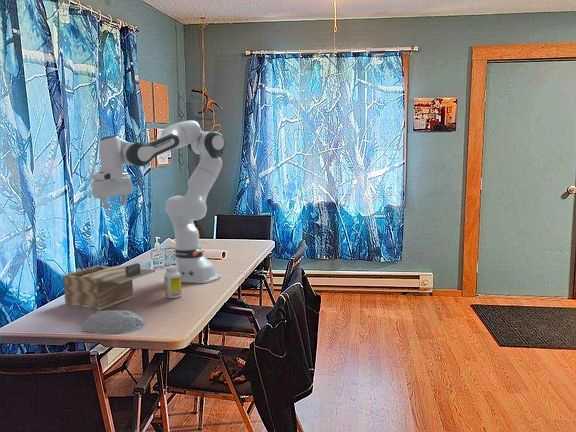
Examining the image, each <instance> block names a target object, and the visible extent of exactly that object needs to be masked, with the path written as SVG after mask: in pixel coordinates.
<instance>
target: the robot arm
mask: <svg viewBox="0 0 576 432" xmlns="http://www.w3.org/2000/svg"><path fill="white" fill-rule="evenodd" d="M98 145H99V146H98V147H99V148H98V151H99V159H100V170H99V171H97V172H96V173H94V174H92V175H91V180H92V184H91V193H92V197H93V198H94V199H100V201H101V203H102V204H103V209H109V208H110V203H108V202H107V200H108V199H107V198H112V197H117V196H120V197H121V200H120V201H119V203H120V204H119V205H120V206H126V205H127V203H126V202H127V199H128V195H130V194H133V192H134V185H133V182H132V181H133V180H132V177H131V175H130V173H128V172H124V167H123V165H126V166H135V167H145V166H147V165H148V164H150V162H152V161H153V159H154V158H155V157H157V156H159V155H161V154H164V153H167V152H168V151H171V150H177V149H181V148H183V147H186V146H187V148H188V150H189V151H190V152H191V153H192V154H193V155H197V156H200V160H199V163H198V164H197V165H196V167H195V169H194V170H193V172H192V174H191V176H190V177H189V179H188V180H187V186H188V188H187V192H186V193H185V195H174V196H171V197H169V198H168V199H166V200H165V204H164V210H165V212H166V213H167V215H168V216H169V218H170V221H171V224H172V228H173V231H174V236H175V237H174V239H175V250H174V253H175V255H174V256H175V259H176V261H175V263H176V264H175V266H177V268H178V269H177V272H179V273H180V277H181V283H192V284H207V283H212V282H215V281H217V280H219V279H221V277H222V275H221V274H219V273H217V271H216V268H215V265H214V263H213V262H211V261H210V260H209V259H208V258H207V257H205V256H204V253H205V249H202V248H201V246H200V233H199V230H198V228H197V226H195V223H194V221H199V220H201V219H203V218H204V217H205V216H206V215H207V211H208V206H207V198H208V195H209V193H210V190H211V189H212V187H213V185H214V184H215V182H216V180H217V178H218V176H219V175H220V172H221V170H222V168H223V160H222V158H221V157H222V155H223V154H224V150H225V148H226V147H225V145H226V140H225V137H224V135H223V134H221V133H220V132H218V131H203V130H202V128H201V126H200V124H199V123H198V122H197V121H196V120H192V119H190V120H184V121H181V122H180V121H179V122H177V123H173V124H171V125H169V126H167V127H165V128H164V129H162V131H161V135H160V137H159V138H157V139H154V140H152V141H149V142H142V141H139V142H130V141H127V140H125V139H122V138H121V137H120V136H119V135H115V134H114V135H107V136H104V137H101V139H100V140H99V144H98Z"/></svg>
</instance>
